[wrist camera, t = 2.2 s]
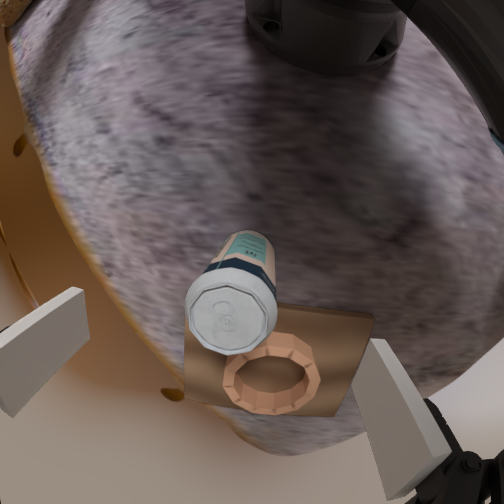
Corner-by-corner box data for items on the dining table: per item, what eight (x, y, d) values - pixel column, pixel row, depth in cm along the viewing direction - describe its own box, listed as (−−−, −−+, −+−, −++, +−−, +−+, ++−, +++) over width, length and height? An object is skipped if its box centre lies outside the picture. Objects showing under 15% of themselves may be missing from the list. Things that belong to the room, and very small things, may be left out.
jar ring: (231, 325, 25) (228, 339, 22) (326, 337, 24) (330, 352, 22) (223, 392, 27) (220, 407, 25) (303, 401, 27) (305, 417, 24)
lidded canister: (229, 286, 25) (198, 367, 13) (214, 237, 24) (164, 287, 12) (280, 274, 24) (287, 352, 13) (266, 222, 23) (262, 263, 12)
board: (190, 288, 25) (186, 292, 24) (371, 313, 25) (375, 319, 24) (186, 392, 29) (184, 398, 28) (332, 410, 28) (334, 416, 27)
